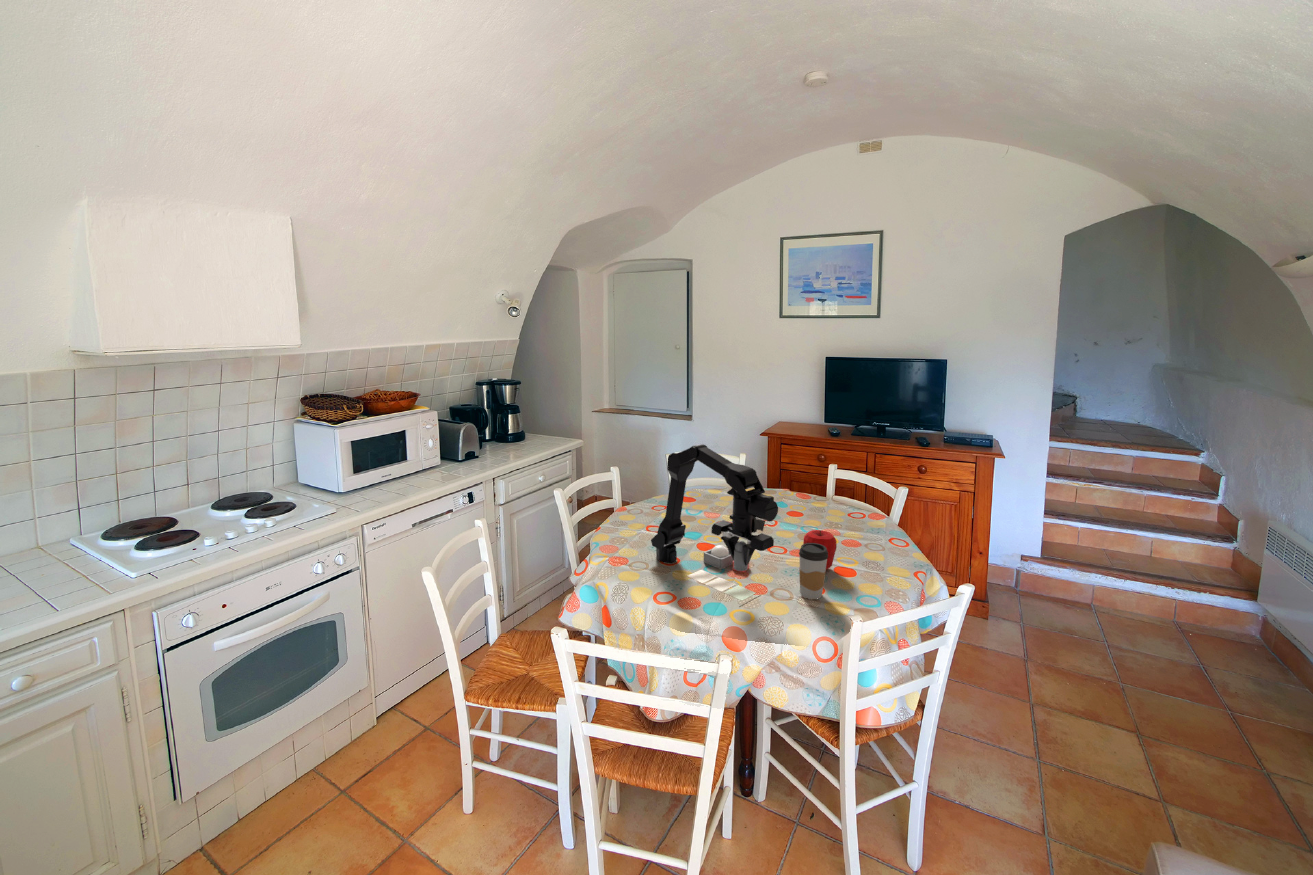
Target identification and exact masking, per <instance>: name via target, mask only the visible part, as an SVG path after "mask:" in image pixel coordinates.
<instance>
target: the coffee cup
mask: <svg viewBox="0 0 1313 875" xmlns="http://www.w3.org/2000/svg"><path fill="white" fill-rule="evenodd" d="M798 555H799V567H798V569H799V571H798V573H799V579H798V580H799V593H800V595H801V597H802V596H803V598H804V597H805V598H804V599H806V598H808V599H807V600H810V599H816V600H818V599H817V598H819V599H820V598H821V597H822V596H823V590H824V586H825V578H826V573H827V570H826V564H827V558H828V551H827V548H826V547H825V546H823V545H821V544H817V543H805V544H801V547H800V548H799V551H798Z"/></svg>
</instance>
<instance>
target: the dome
mask: <svg viewBox="0 0 1313 875" xmlns="http://www.w3.org/2000/svg"><path fill="white" fill-rule="evenodd" d="M711 549H712V551H711V555H713V556H716V557H718V558H724V557H726V556H728V555H729V551H728V548H727V546H724V545H723V544H722V545H721V544H720V545H719V544H718V545H715V546H714V547H712V548H711Z"/></svg>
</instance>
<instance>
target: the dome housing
mask: <svg viewBox="0 0 1313 875" xmlns="http://www.w3.org/2000/svg"><path fill="white" fill-rule="evenodd" d="M712 549H713V548H711V549H708V550H705V551H703V562H704V563H705V564H707V565H709V566H712V567H714V568H717V569H719V570H723V569H725V568H728V567H729V566H733V561H734V560H733V559H732V556H731V554H730V552H729V555H728V556H726V557H724V558H718V557H716V556H713V555H711V551H712ZM728 551H729V550H728Z"/></svg>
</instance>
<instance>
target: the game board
mask: <svg viewBox="0 0 1313 875" xmlns="http://www.w3.org/2000/svg"><path fill="white" fill-rule="evenodd" d="M686 577H688V578H690V579H692V580H694V581H696V582H699V583H701V584H704V585H706V586H707V587H710V588H712V589H714V590H717V591H719V592H721V593H724V594H725V595H727V596H730V597H732V598H734V599H737V600H739V601H744V600H746V599H748V598H751V596H753V595H755V594H756V592H754V591H753V590H750V589H748V588H746V587H744V586H742V585H739V584H738V585H737V584H736V583H735V582H732V581H729V580H727V579H725V578H722V577H719V576H717V575H715V574H712V573H710V572H708V571H706V570H705V569H699V570H697V571H695V572H693V573H691V574H688V575H686ZM761 596H762V595H761V594H760V595H758V596H756V597H754V598H752V599H750V600H749V601H747V602H745V603H743V604H741V605H740V606H739V608H741V607H742V606H745V605H746V604H749V603H751V602H752V601H753V600H756V599H757V598H759V597H761Z"/></svg>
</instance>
